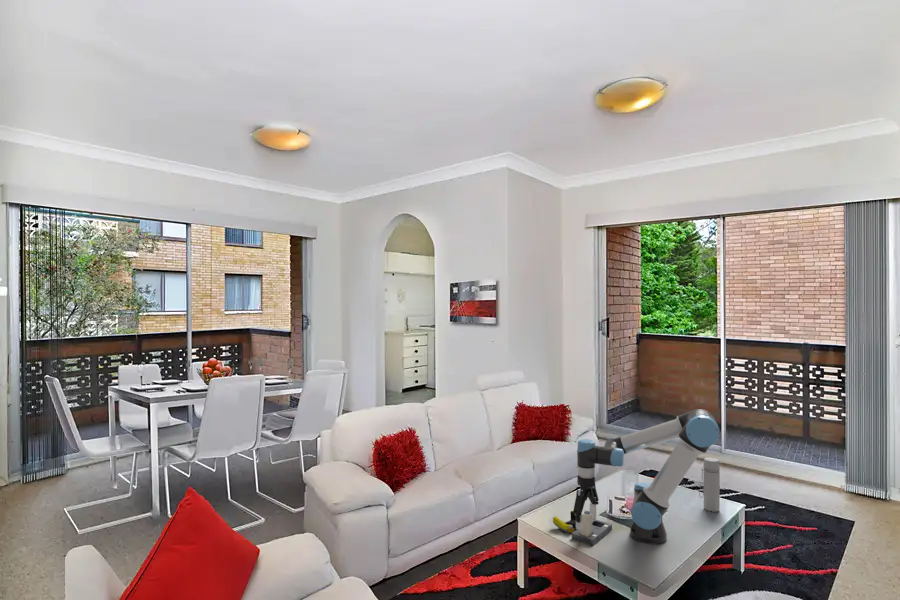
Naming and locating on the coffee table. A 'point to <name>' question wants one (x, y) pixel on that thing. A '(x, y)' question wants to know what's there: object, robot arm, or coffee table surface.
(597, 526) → the panel
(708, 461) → the water bottle
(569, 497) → the coffee table surface
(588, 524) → the plug
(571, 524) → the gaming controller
